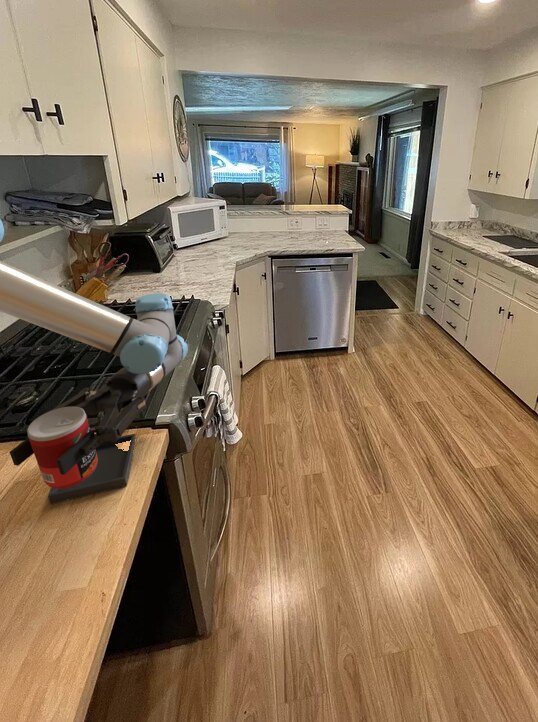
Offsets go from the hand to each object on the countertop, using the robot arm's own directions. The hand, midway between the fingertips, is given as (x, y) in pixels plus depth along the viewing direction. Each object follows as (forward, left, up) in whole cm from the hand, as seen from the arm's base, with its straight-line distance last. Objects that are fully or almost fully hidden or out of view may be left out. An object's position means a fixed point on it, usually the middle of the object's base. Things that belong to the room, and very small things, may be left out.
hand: (36, 463), depth 56 cm
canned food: (-1, +5, -7) cm, 8 cm away
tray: (-9, +13, -18) cm, 24 cm away
